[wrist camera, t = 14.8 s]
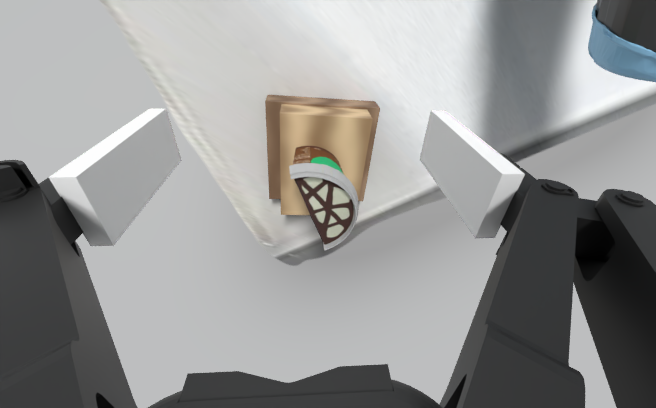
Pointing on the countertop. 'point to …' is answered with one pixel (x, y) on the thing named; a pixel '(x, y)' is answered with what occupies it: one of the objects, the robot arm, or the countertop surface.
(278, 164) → the tower base
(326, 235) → the food container
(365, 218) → the countertop surface
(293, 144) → the tower top
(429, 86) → the countertop surface
